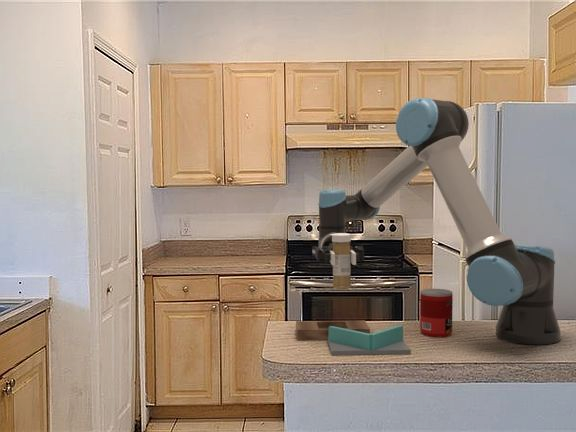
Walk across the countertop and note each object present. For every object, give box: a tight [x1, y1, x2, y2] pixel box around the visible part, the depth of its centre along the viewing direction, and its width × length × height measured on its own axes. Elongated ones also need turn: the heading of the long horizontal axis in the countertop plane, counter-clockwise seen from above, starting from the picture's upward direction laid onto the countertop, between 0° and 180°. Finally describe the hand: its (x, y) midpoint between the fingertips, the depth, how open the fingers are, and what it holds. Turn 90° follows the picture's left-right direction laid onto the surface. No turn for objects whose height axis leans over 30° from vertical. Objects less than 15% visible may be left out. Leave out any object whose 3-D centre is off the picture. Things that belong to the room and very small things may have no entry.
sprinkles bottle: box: [332, 232, 352, 290], centre depth 163 cm, size 5×5×14 cm
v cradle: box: [326, 324, 412, 356], centre depth 156 cm, size 18×12×4 cm, turn 91°
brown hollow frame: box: [295, 319, 371, 341], centre depth 168 cm, size 18×9×3 cm, turn 91°
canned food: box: [419, 288, 454, 338], centre depth 169 cm, size 8×8×11 cm
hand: (344, 259), depth 158 cm, fingers closed on sprinkles bottle, 4 cm apart
